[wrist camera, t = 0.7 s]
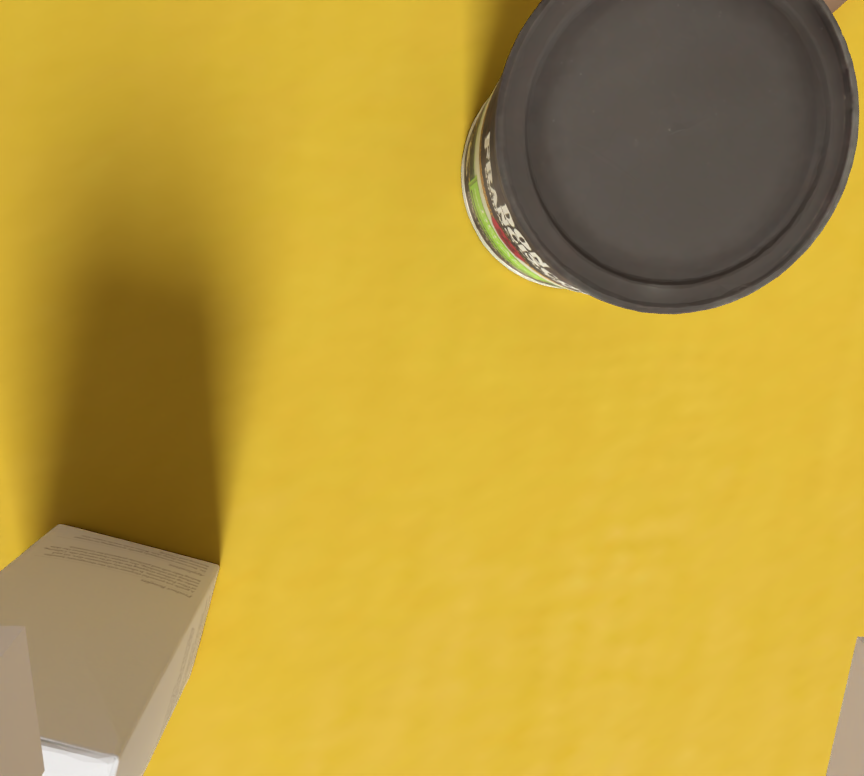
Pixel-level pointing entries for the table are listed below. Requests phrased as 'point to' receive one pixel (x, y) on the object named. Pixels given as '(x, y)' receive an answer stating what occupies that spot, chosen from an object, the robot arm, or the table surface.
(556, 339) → the table surface
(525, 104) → the coffee can
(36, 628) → the skincare box
